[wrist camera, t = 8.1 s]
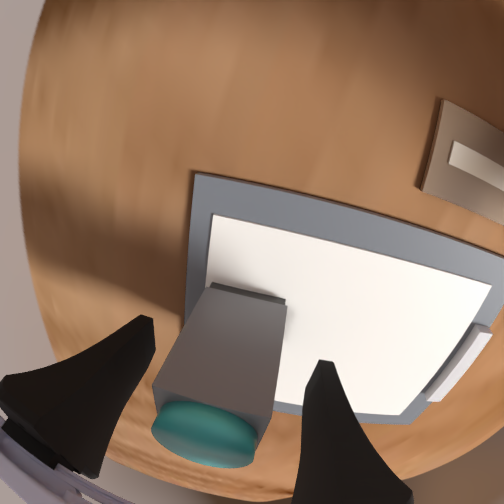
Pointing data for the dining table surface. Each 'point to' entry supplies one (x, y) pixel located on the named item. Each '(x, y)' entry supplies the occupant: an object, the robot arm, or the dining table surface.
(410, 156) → the dining table surface
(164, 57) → the dining table surface
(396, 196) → the dining table surface
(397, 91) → the dining table surface
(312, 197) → the clipboard
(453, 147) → the word placard
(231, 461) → the teal-capped grey stamp
